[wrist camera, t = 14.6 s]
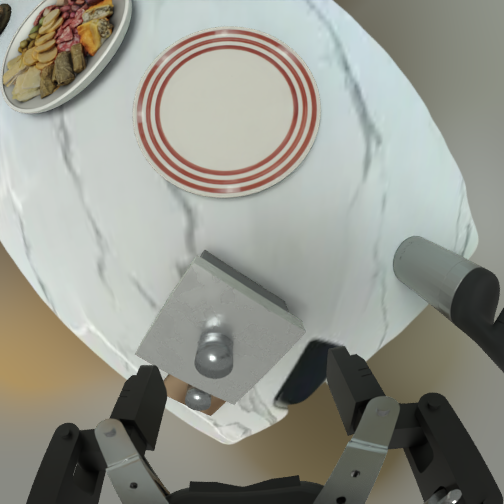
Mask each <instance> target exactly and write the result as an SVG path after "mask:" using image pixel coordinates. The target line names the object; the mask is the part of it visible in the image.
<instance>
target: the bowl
mask: <svg viewBox="0 0 504 504" xmlns="http://www.w3.org/2000/svg"><path fill="white" fill-rule="evenodd" d="M131 13H132V2H131V0H43V1H42V2H41V3H39V4H38V5H37V6H36V7H35V8H34V9H33V10H32V12H31V13H30V14H29V15H28V16H27V17H26V19H25V20H24V21H23V22H22V24H21V25H20V27H19V28H18V30H17V31H16V33H15V35H14V36H13V38H12V40H11V42H10V44H9V46H8V49H7V51H6V54H5V57H4V60H3V64H2V69H1V91H2V95H3V97H4V100H5V102H6V103H7V104H8V106H9V107H10V108H12V109H13V110H15V111H17V112H20V113H27V114H35V113H41V112H45V111H48V110H51V109H54V108H56V107H58V106H60V105H62V104H64V103H65V102H67V101H69V100H70V99H72V98H73V97H75V96H76V95H77V94H79V93H80V92H81V91H82V90H83V89H85V88H86V87H87V86H88V85H89V84H90V83H91V82H92V81H93V80H94V79H95V78H96V77H97V76H98V75H99V74H100V73H101V72H102V70H103V69H104V68H105V67H106V66H107V64H108V63H109V62H110V60H111V59H112V57H113V56H114V55H115V53H116V51H117V50H118V48H119V46H120V45H121V43H122V41H123V39H124V37H125V34H126V32H127V29H128V27H129V23H130V19H131Z"/></svg>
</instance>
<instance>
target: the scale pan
mask: <svg viewBox="0 0 504 504" xmlns="http://www.w3.org/2000/svg"><path fill="white" fill-rule="evenodd" d="M305 332H306V331H305V328H304V326H303V323H302V321H301V320H300V319H298V318H297V317H295V316H293V315H292V314H290V313H288V312H287V311H285V310H284V309H282V308H280V307H279V306H277V305H275V304H274V303H272V302H271V301H269V300H267V299H266V298H264V297H262V296H261V295H259V294H258V293H256V292H254V291H253V290H251V289H250V288H248V287H247V286H245V285H243V284H242V283H240V282H239V281H237V280H236V279H234V278H232V277H231V276H229V275H228V274H226V273H225V272H223V271H221V270H220V269H218V268H217V267H215V266H214V265H212V264H211V263H209V262H208V261H206V260H205V259H203V258H201V257H200V256H198V255H196V257H195V258H194V260H193V261H192V263H191V264H190V266H189V267H188V269H187V270H186V272H185V273H184V275H183V276H182V278H181V279H180V281H179V282H178V284H177V285H176V287H175V289H174V290H173V292H172V293H171V295H170V296H169V298H168V299H167V301H166V303H165V304H164V306H163V307H162V309H161V311H160V312H159V314H158V315H157V317H156V319H155V320H154V322H153V323H152V325H151V327H150V328H149V330H148V332H147V333H146V335H145V336H144V338H143V340H142V341H141V343H140V345H139V347H138V349H137V351H136V353H135V355H137V356H138V357H140V358H142V359H144V360H145V361H147V362H149V363H150V364H152V365H156V366H157V367H158V368H159V369H161V370H163V371H165V372H167V373H168V374H170V375H172V376H174V377H176V378H178V379H180V380H182V381H184V382H186V383H188V384H190V385H192V386H194V387H196V388H198V389H200V390H202V391H204V392H206V393H209V394H211V395H213V396H215V397H217V398H220V399H222V400H224V401H227V402H229V403H231V404H235V403H236V402H237V401H238V400H239V399H240V398H242V397H243V396H244V395H245V394H246V393H247V392H248V391H249V390H250V389H251V388H252V387H253V386H254V385H255V384H256V383H257V382H258V381H259V380H260V379H261V378H262V377H263V376H264V375H265V374H266V373H267V372H268V371H269V370H270V369H271V368H272V367H273V366H274V365H275V364H276V363H277V362H278V361H279V360H280V359H281V358H282V357H283V356H284V355H285V354H286V353H287V352H288V351H289V350H290V349H291V348H292V346H293V345H294V344H295V343H296V342H297V341H298V340H299V339H300V338H301V337H302V336H303V335H304V333H305ZM208 333H221V334H223V335H225V336H227V337H228V338H229V339H230V340H231V341H232V343H233V369H232V371H231V373H230V374H229V375H227V376H226V377H223V378H219V379H212V378H207V377H205V376H203V375H201V374H200V373H199V372H198V371H197V370H196V368H195V364H194V361H195V356H196V351H197V346H198V342H199V340H200V338H201V337H202V336H204V335H206V334H208Z"/></svg>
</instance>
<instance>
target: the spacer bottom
mask: <svg viewBox="0 0 504 504" xmlns="http://www.w3.org/2000/svg"><path fill="white" fill-rule="evenodd" d="M194 364H195V368H196V370H197V371H198V372H199V373H200V374H201V375H203V376H205V377H207V378H212V379H219V378H223V377H226V376H227V375H229V374H230V373H231V371H232V369H233V343H232V341H231V340H230V339H229V338H228V337H227V336H225V335H223V334H221V333H208V334H206V335H204V336H202V337H201V338H200V340H199V342H198V346H197V351H196V356H195V361H194Z"/></svg>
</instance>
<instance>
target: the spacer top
mask: <svg viewBox="0 0 504 504" xmlns="http://www.w3.org/2000/svg"><path fill="white" fill-rule="evenodd" d="M211 396H212V395H211V394H209V393H206V392H204V391H202V390H200V389H198V388H196V387H194V386H192V385H190V384H188V386H187V391H186V397H185V404H186V405H187V406H188V407H189V408H191V409H193V410H197V411H203V410H206V409H208V408H209V407H210V406H211Z"/></svg>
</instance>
